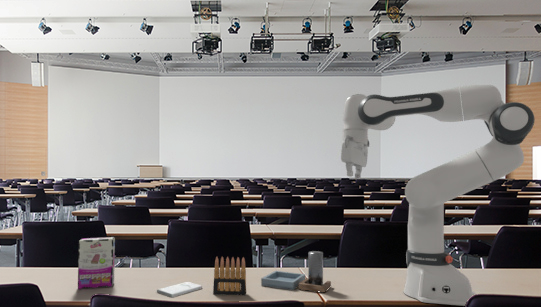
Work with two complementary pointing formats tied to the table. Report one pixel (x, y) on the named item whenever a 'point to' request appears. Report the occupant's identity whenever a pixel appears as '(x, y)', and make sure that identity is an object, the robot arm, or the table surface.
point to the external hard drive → (179, 289)
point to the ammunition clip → (229, 278)
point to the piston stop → (315, 268)
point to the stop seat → (314, 286)
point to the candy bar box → (96, 262)
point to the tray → (282, 280)
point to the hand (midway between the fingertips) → (353, 177)
